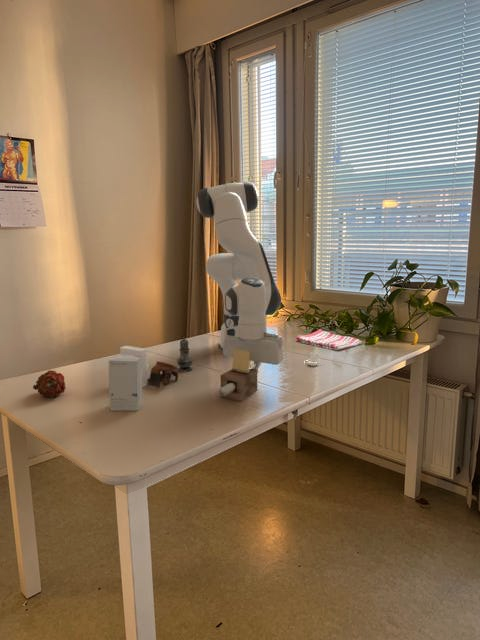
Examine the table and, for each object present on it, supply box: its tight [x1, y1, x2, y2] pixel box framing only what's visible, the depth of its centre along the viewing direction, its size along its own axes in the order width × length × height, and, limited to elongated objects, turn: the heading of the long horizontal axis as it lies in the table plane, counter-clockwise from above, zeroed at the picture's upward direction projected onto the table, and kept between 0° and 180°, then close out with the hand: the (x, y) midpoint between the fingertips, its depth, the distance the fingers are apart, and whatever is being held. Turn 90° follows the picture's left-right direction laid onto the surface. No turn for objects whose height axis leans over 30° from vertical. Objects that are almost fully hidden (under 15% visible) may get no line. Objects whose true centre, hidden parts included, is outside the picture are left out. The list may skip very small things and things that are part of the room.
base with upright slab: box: [119, 345, 150, 388], centre depth 153 cm, size 9×9×12 cm
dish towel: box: [295, 328, 363, 351], centre depth 204 cm, size 17×23×4 cm
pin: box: [218, 381, 237, 397], centre depth 142 cm, size 16×4×4 cm, turn 149°
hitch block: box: [220, 368, 258, 402], centre depth 144 cm, size 10×7×7 cm
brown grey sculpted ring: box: [147, 361, 179, 388], centre depth 154 cm, size 12×10×8 cm
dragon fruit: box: [32, 369, 67, 399], centre depth 144 cm, size 8×8×12 cm
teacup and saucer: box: [303, 351, 320, 367], centre depth 175 cm, size 9×8×4 cm
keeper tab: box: [231, 349, 251, 374], centre depth 143 cm, size 7×6×1 cm
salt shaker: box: [176, 336, 194, 373], centre depth 168 cm, size 6×6×12 cm
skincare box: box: [108, 354, 143, 412], centre depth 134 cm, size 8×6×15 cm
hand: (252, 373), depth 149 cm, fingers closed
